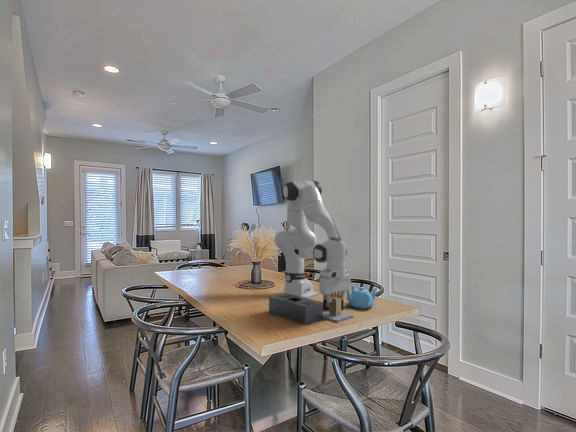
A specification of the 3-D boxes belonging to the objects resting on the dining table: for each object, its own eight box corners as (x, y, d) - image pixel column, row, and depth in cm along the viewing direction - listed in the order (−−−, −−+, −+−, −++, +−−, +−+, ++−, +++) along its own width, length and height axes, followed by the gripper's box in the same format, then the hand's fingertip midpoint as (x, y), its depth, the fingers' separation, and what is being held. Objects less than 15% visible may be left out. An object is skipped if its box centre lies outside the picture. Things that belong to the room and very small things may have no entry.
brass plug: (334, 313, 156) (334, 296, 156) (341, 315, 153) (341, 298, 153) (329, 314, 153) (329, 297, 153) (335, 316, 150) (336, 299, 150)
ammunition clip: (322, 309, 166) (323, 286, 166) (322, 308, 167) (323, 285, 168) (343, 310, 166) (344, 286, 166) (343, 309, 168) (343, 285, 168)
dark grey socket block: (286, 308, 165) (286, 292, 166) (322, 319, 148) (323, 302, 148) (268, 313, 157) (269, 296, 157) (304, 325, 140) (305, 306, 140)
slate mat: (332, 312, 162) (332, 309, 162) (353, 317, 153) (353, 315, 153) (317, 316, 153) (317, 314, 153) (337, 322, 145) (337, 320, 145)
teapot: (370, 311, 164) (371, 291, 164) (342, 307, 171) (342, 287, 171) (377, 305, 177) (377, 286, 177) (350, 301, 184) (351, 283, 184)
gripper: (343, 269, 163) (343, 296, 163) (317, 273, 149) (316, 303, 149) (354, 270, 158) (353, 298, 158) (327, 274, 144) (327, 305, 144)
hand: (335, 301), depth 153 cm, fingers open, 8 cm apart
